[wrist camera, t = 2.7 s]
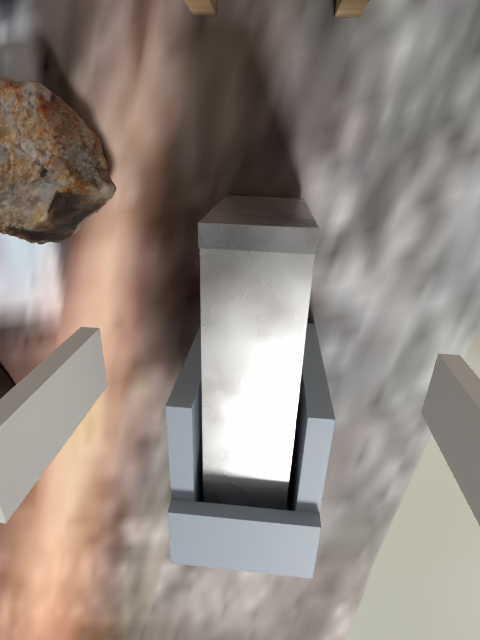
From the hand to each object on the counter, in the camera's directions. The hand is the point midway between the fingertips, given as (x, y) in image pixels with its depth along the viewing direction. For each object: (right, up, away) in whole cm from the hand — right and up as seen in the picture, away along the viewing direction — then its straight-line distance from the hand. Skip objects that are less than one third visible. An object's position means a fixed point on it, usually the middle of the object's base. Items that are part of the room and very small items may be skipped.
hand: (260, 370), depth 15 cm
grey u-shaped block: (0, -3, +14) cm, 14 cm away
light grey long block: (0, +1, +12) cm, 12 cm away
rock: (-13, +12, +9) cm, 20 cm away
